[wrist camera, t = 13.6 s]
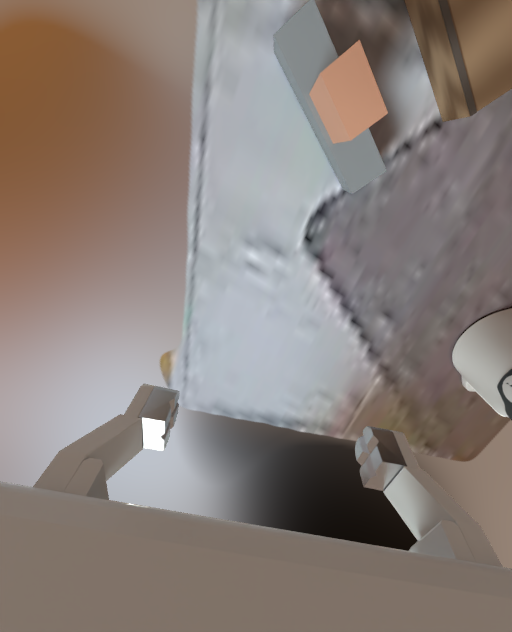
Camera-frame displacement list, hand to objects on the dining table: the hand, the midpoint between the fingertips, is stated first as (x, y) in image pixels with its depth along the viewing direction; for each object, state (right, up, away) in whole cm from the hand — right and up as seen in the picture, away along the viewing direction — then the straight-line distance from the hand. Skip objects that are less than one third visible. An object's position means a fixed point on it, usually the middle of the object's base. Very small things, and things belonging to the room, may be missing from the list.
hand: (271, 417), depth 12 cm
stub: (+7, +27, +19) cm, 34 cm away
